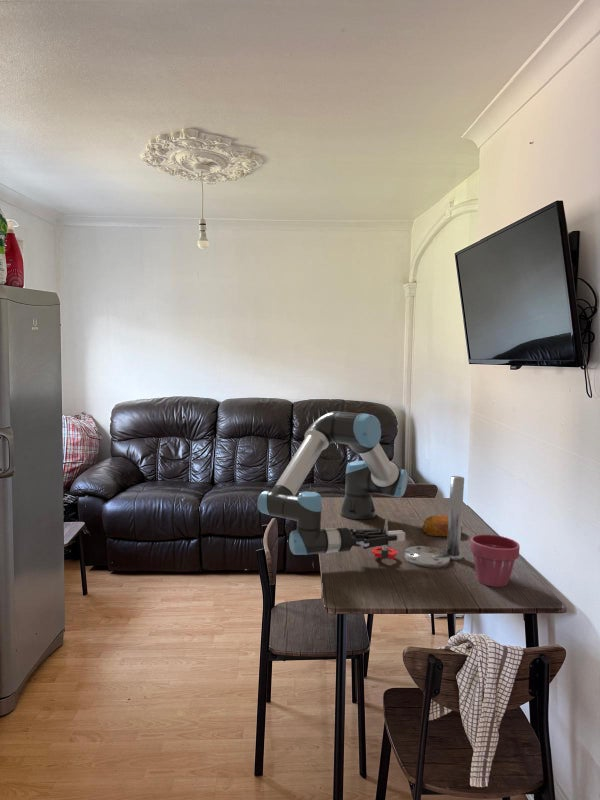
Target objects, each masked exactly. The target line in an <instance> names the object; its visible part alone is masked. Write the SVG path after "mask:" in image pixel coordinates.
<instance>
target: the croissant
mask: <svg viewBox="0 0 600 800" xmlns="http://www.w3.org/2000/svg"><path fill="white" fill-rule="evenodd" d="M448 518H449V515H446V514H436V515H430V516H428V517H427V518H425V520H424V521H423V525H422V530H423V532H424V533H425V535H428V536H433V537H435V536H436V537H447V535H448ZM462 531H463V525H462V524H461V533H462Z"/></svg>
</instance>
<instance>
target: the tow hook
mask: <svg viewBox="0 0 600 800" xmlns="http://www.w3.org/2000/svg"><path fill="white" fill-rule="evenodd" d="M388 521H389V520H388V519H387V518H386V519H385V521H384V526H383V532H384V534H387V533H388V531H389V526H388ZM379 551H381V552H379ZM371 553H372V554H373V555H374V557H375V558H381V559H396V556H397V555H398V551H397V550H396V549H395V548H391V547H389V544H388V545H383V546H376V547H372V549H371Z"/></svg>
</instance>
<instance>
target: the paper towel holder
mask: <svg viewBox="0 0 600 800" xmlns="http://www.w3.org/2000/svg"><path fill="white" fill-rule="evenodd" d="M464 485H465V477H464V476H460V475H453V476H451V477H450V486H449V487H450V489H449V505H448V516H449V518H448V535H447V536H446V537H447V538H446V550H443V549H441V548H438V547H434V546H426V545H415V546H414V545H413V546H410V547H407V548H406V549H404V559H405V560H406V562H408V563H410V564H412V565H415V566H418V567H421V568H423V567H424V568H431V569H433V568H436V569H437V568H444V567H447V566H449V564H451V563H450V562H451V561H454V562H455V561H457V562H458V561H462V560H463V553H461V539H462V538H461V536H462V535H461V534H462V532H461V525H462V524H463V523H462V521H463V504H464V503H463V502H464V488H465V486H464Z"/></svg>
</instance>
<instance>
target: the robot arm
mask: <svg viewBox="0 0 600 800" xmlns="http://www.w3.org/2000/svg"><path fill="white" fill-rule="evenodd" d="M381 438H382V428H381V422H380V420H379V419H378V418H377V416H375V415H373V414H369V413H364V412H363V413H357V412H347V411H340V410H339V411H337V410H334V411H329V412H327V413H325V414H323V415H321V416H320V417H318V418H317V419H316V420H314V421H313V422H312V423H311V424H310V425H309V427H308V428H307V429H306V431H305V433H304V439H303V441H302V443H301V444H300V445H299V447H298V449H297V450H296V452H295V454H294V455H293V456H292V457H291V459H290V461H289V463H288V465H287V466H286V468H285V469H284V471H283V472H282V474H281V475H280V477H279V479H278V480H277V481H276V483H275V485H274V486H273V488H272V489H271V490H264V491H262V492H261V493H260V494H259V496H258V497H257V498H258V499H257V509H258V511H259V512H260V513H262V514H265V515H268V516H270V517H271V516H272V517H278V518H282V519H287V520H292V521H295V522H296V529H295V530H291V532H290V533H289V538H288V544H289V546H288V547H289V550H290V552H291V553H292V554H293V555H294V556H295V555H296V556H298V555H299V556H301V555H304V556H307V555H318V554H328V555H330V553H338V552H339V553H342V552H343V553H345V552H350V551H351V549H352V548H353V546H354V547H362V549H364V550H367V549H370V548H376V547H383V545H388V546H389V543H391V542H392V543H394V542H401V541H402V542H405V541H406V531H403V530H402V529H401V530H398V529H397V530H388V533H387V534H384V528H380V529H378V528H376V529H373V528H371V529H369V528H366V529H365V528H363V529H362V528H361V529H358V528H357V529H356V528H350V529H349V528H348V527H337V528H336V527H333V528H332V527H331V528H321V525H322V510H323V505H322V504H323V503H322V496H321V494H320V493H319V492H316V491H301V492H300V493H299V494H298V495H297V496H296V494H297V493H298V491H299V489H300V488H301V486H302V484H303V483H304V481H305V479H306V478H307V476H308V474H310V471H312V470H311V469H312V468H313V467H314V464H315V463H316V461H317V460H318V458H319V457H320V455H321V453H322V452H323V450H326V449H327V448H328V447H329V445H331V444H334V443H335V444H340V445H341V444H342V445H348V447H349V448H350V449H351V451H353V452H354V453H355V454H356V453H357V454H359V456H360V457H361V459H362V460H355V461H350V462H349V463H347V465H346V469H345V488H344V489H345V491H344V499H343V501H342V503H341V506H340V509H339V510H340V511H339V514H340V516H342V517H345V518H347V519H352V520H369V519H374V518H375V517H376V515H377V513H376V507H375V504H374V499H373V494H375V495H380V496H387V497H393V498H402V497H403V496H404V494H405V493H406V489H407V485H408V477H409V475H408V472H407V470H406V469H403V468H401V469H400V468H399V467H398V466H397V464H395V463H394V462H393V461H390V459H389V458H388V456H387V454H386V452H385V451H384V449H383V447H382V445H381V443H380V440H381Z"/></svg>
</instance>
